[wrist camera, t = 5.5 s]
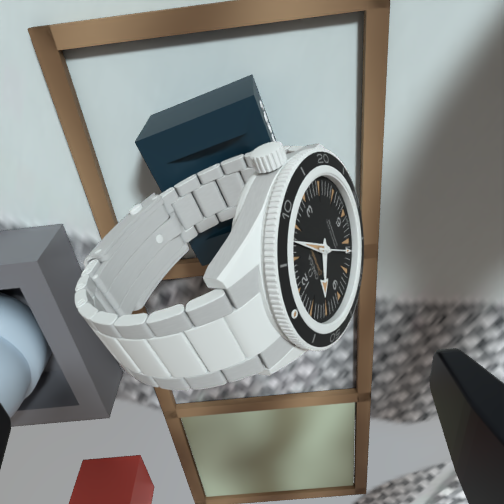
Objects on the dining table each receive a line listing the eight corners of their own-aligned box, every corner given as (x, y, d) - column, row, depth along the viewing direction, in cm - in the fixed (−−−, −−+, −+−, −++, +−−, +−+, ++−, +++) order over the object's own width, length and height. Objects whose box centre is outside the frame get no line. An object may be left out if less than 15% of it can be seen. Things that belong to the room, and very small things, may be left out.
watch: (339, 182, 19) (426, 381, 10) (172, 239, 21) (116, 459, 12) (300, 51, 16) (374, 165, 7) (110, 129, 18) (-30, 305, 9)
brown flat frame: (387, -21, 15) (391, -20, 15) (364, 488, 33) (366, 493, 32) (31, 27, 16) (27, 28, 15) (196, 501, 33) (196, 506, 33)
